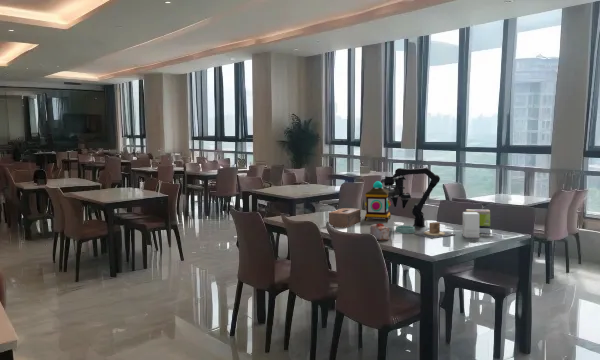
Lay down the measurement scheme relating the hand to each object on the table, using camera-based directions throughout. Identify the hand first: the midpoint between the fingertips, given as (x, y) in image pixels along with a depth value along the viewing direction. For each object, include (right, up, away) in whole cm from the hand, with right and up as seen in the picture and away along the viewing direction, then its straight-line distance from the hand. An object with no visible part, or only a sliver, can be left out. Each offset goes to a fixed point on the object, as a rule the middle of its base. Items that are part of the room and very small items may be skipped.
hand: (399, 207), depth 344 cm
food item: (-21, -17, -43) cm, 51 cm away
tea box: (+46, -15, -27) cm, 55 cm away
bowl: (0, -15, -22) cm, 26 cm away
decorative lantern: (-11, -11, +27) cm, 31 cm away
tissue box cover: (-38, -13, +11) cm, 41 cm away
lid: (+16, -15, -33) cm, 40 cm away
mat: (+16, -16, -33) cm, 40 cm away
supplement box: (+37, -16, -39) cm, 56 cm away
